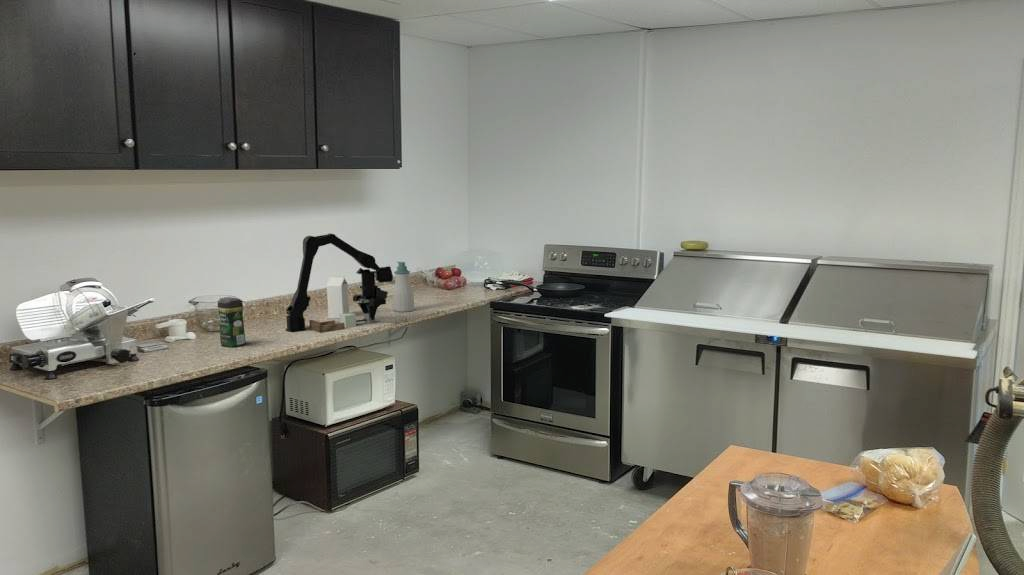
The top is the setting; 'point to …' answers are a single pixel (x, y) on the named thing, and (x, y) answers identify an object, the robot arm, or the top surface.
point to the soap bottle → (402, 290)
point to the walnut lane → (325, 326)
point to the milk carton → (337, 296)
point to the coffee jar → (231, 322)
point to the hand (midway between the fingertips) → (370, 319)
